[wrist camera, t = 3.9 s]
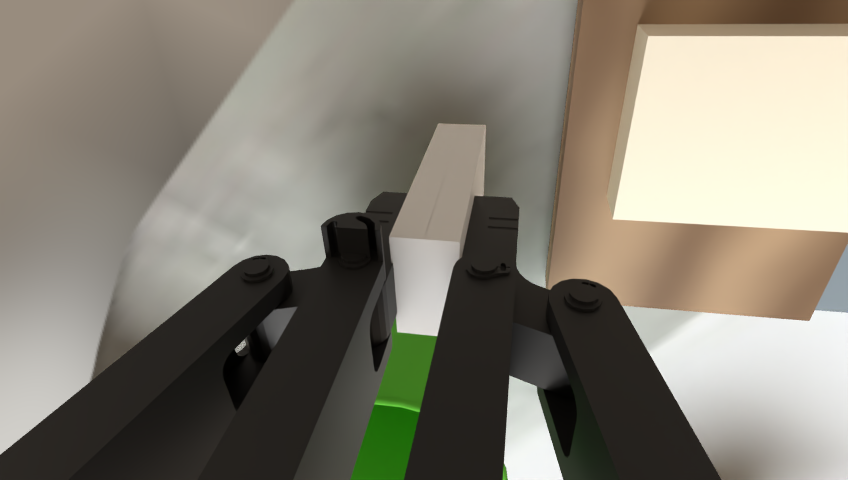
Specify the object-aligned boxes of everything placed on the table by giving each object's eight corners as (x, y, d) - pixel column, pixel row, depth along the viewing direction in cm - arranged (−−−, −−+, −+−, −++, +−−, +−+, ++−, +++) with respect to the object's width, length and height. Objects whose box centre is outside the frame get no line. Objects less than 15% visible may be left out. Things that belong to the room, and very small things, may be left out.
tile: (606, 196, 22) (612, 219, 21) (637, 24, 19) (648, 36, 17) (837, 207, 21) (863, 233, 19) (922, 23, 17) (963, 36, 15)
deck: (545, 275, 28) (546, 299, 26) (599, -178, 17) (606, -187, 16) (791, 293, 26) (809, 320, 24) (1018, -205, 15) (1076, -218, 14)
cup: (330, 288, 31) (247, 449, 22) (440, 206, 26) (393, 364, 17) (432, 377, 33) (396, 553, 24) (547, 315, 29) (555, 502, 20)
